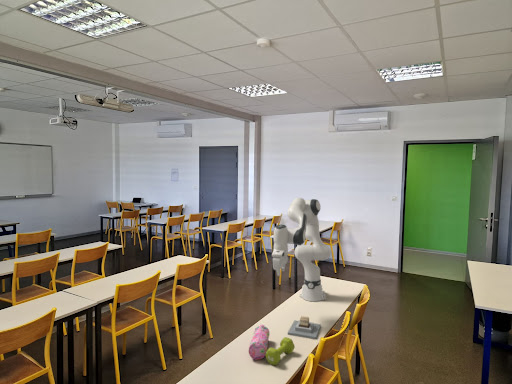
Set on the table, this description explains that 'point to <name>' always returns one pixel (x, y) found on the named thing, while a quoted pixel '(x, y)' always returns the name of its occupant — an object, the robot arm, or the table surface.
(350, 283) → the table surface
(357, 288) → the table surface
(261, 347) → the pencil case
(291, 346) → the dumbbell
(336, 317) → the table surface
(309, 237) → the robot arm
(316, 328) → the socket board
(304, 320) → the stack block
